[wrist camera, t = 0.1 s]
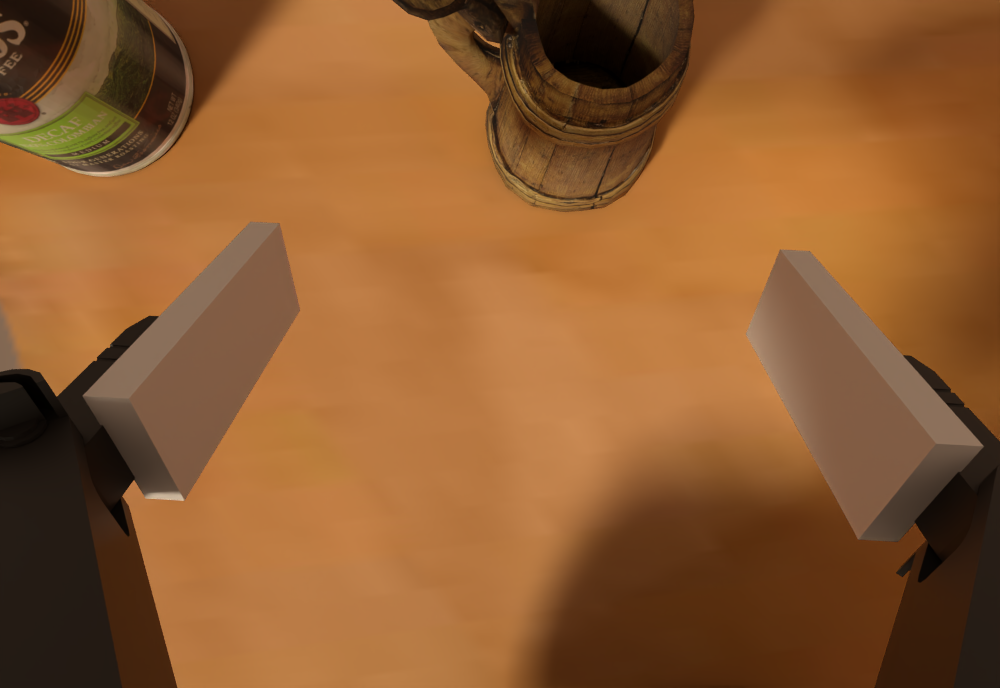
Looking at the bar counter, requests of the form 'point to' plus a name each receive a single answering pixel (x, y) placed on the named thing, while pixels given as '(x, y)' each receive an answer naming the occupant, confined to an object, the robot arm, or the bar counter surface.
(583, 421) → the bar counter surface
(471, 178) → the bar counter surface
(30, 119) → the coffee can
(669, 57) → the wooden mug
